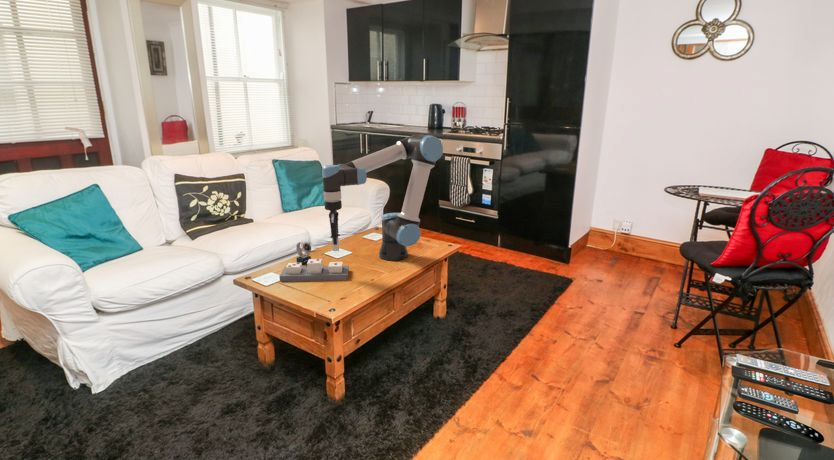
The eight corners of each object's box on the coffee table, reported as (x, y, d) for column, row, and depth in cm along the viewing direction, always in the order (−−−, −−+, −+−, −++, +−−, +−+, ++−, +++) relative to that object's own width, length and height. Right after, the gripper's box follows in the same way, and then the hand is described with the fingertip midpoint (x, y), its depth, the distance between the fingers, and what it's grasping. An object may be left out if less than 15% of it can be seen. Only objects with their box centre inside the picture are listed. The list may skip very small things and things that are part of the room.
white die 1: (302, 272, 212) (301, 262, 210) (300, 277, 206) (299, 266, 204) (289, 272, 211) (288, 262, 210) (286, 277, 205) (285, 266, 204)
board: (348, 270, 216) (348, 265, 216) (347, 279, 205) (346, 274, 204) (285, 271, 214) (284, 266, 213) (279, 281, 202) (279, 276, 202)
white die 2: (343, 271, 213) (342, 261, 212) (342, 276, 207) (341, 265, 206) (330, 272, 213) (329, 261, 211) (328, 276, 207) (328, 266, 205)
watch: (305, 266, 222) (304, 244, 219) (294, 262, 226) (293, 241, 223) (314, 262, 226) (312, 241, 223) (302, 259, 230) (301, 239, 227)
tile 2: (322, 268, 212) (322, 258, 210) (320, 273, 206) (320, 262, 205) (309, 269, 211) (309, 258, 210) (307, 273, 206) (307, 263, 204)
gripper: (325, 197, 206) (329, 246, 213) (322, 203, 194) (326, 255, 201) (342, 197, 207) (345, 245, 214) (340, 203, 194) (343, 254, 201)
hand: (336, 250), depth 207 cm, fingers closed
